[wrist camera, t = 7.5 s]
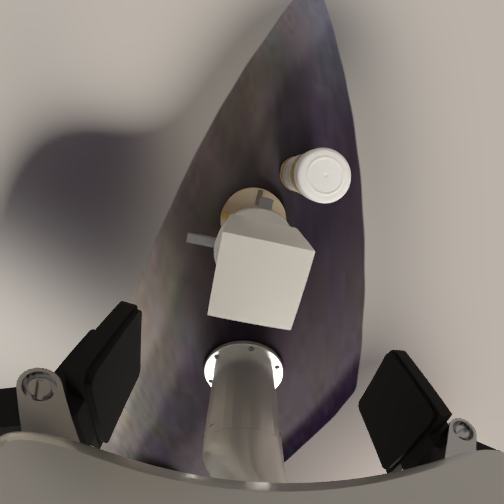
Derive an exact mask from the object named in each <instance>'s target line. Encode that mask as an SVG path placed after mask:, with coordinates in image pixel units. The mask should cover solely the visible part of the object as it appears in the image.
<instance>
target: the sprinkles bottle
mask: <svg viewBox="0 0 504 504" xmlns="http://www.w3.org/2000/svg"><path fill="white" fill-rule="evenodd" d="M280 178H281V181H282V183H283V184H284V186H285V187H287V188H288V189H289V190H291V191H295V192H298V193H300V194H302V195H304V196H305V197H306V198H308V199H310V200H312V201H315V202H318V203H331V202H334V201H337V200H338V199H340V198H341V197H342V196H343V195H344V194H345V193H346V192H347V190H348V188H349V185H350V182H351V171H350V167H349V165H348V163H347V161H346V159H345V158H344V157H343V156H342V155H341V154H340V153H338V152H337V151H335V150H333V149H329V148H317V149H313V150H310V151H308V152H306V153H304V154H301V155H298V156H294V157H290V158H289V159H287V160H286V161H285V162H284V163H283V164H282V166H281V169H280Z"/></svg>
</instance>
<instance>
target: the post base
mask: <svg viewBox="0 0 504 504" xmlns="http://www.w3.org/2000/svg"><path fill="white" fill-rule="evenodd" d="M260 197H264V198H269V199H273V200H274V201H273V205H272V210H273V211H275V212H277V213H278V214H280V215H281V216H282V217H283V218H284V219H285V220H286V214H285V210H284V207H283V205H282V204H281V202H280V201H279V200H278V199H277V197H276V196H274V195H273V194H272V193H270V192H269V191H267V190H265V189H261V188H254V187H252V188H245V189H242V190H240V191H238V192H236V193H235V194H233V195H232V196H231V197H230V198H229V199H228V201H227V202H226V204H225V205H224V207H223V209H222V213H221V227H222V225H223V223H224V222H225V221H226V219H227V218H228V217H229V216H230V214H233V213H234V212H236V211H238V210H240V209H243V208H246V207H252V206H259V201H260Z"/></svg>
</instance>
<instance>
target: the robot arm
mask: <svg viewBox="0 0 504 504" xmlns="http://www.w3.org/2000/svg"><path fill="white" fill-rule="evenodd" d="M141 319H142V312H141V311H140V310H138V309H137V305H134V304H130V303H127V302H124V301H121V302H120V303H119V304H118V305H117V306H116V307H115V308H114V309H113V310H112V312H111V313H110V314H109V315H108V316H107V317H106V318H105V320H104V321H103V322H102V323H101V324H100V325H99V326H98V327H97V329H96V330H94V329H93V330H90V331H89V332H88V333H87V335H86V336H85V337H84V338H83V339H82V340H81V341H80V342H79V344H78V345H77V346H76V347H75V348H74V349H73V350H72V352H71V353H70V354H69V355H68V356H67V358H66V359H65V360H64V361H63V362H62V364H61V365H60V366H59V367H58V368H57V370H56V371H55V372H52V371H50V370H48V369H44V368H33V369H29V370H27V371H25V372H24V373H22V374H21V375H20V377H19V378H18V380H17V386H16V387H14V388H4V389H0V504H504V453H503V452H501V451H499V450H496V449H493V448H491V447H489V446H486V445H484V444H482V443H479V442H477V441H476V431H475V429H474V427H473V426H472V425H471V424H470V423H469V422H468V421H466V420H464V419H461V418H455V419H453V420H452V421H451V422H450V423H449V424H448V423H447V420H448V419H449V418H450V417H451V415H452V413H451V412H450V411H449V409H448V408H447V406H446V405H445V404H444V402H443V401H442V399H441V398H440V397H439V395H438V394H437V392H436V391H435V390H434V388H433V387H432V386H431V384H430V383H429V382H428V380H427V379H426V378H425V376H424V375H423V374H422V372H421V371H420V370H419V368H418V367H417V366H416V365H415V363H414V362H413V361H412V359H411V358H410V357H409V355H408V354H407V353H406V352H405V351H400V350H392V351H390V352H389V353H388V354H386V356H385V357H384V359H383V361H382V363H381V365H380V367H379V368H378V370H377V372H376V374H375V375H374V377H373V379H372V381H371V382H370V384H369V386H368V388H367V389H366V391H365V393H364V394H363V396H362V398H361V399H360V401H359V405H358V406H359V410H360V413H361V415H362V417H363V420H364V422H365V425H366V427H367V429H368V432H369V434H370V437H371V439H372V442H373V444H374V447H375V449H376V452H377V454H378V457H379V459H380V462H381V464H382V467H383V468H384V469H386V472H387V474H382V475H377V476H371V477H365V478H358V479H351V480H341V481H330V482H315V483H287V478H286V473H285V468H284V460H283V451H282V444H281V433H280V425H279V416H278V407H277V399H276V390H275V389H276V388H277V387H278V385H279V384H280V382H281V380H282V377H283V366H282V362H281V360H280V358H279V356H278V355H277V354H276V353H275V352H274V351H273V350H272V349H271V348H269V347H267V346H266V345H263V344H260V343H258V342H253V341H243V340H242V341H233V342H229V343H226V344H223V345H221V346H219V347H217V348H216V349H214V350H213V351H212V352H211V353H210V355H209V356H208V358H207V360H206V363H205V368H204V374H205V378H206V381H207V382H208V384H209V385H210V386H211V393H210V399H209V406H208V413H207V420H206V427H205V434H204V441H203V448H202V457H203V462H204V465H205V467H206V469H207V470H208V472H209V474H210V475H211V476H212V477H213V478H212V477H206V476H200V475H194V474H189V473H184V472H179V471H174V470H170V469H165V468H161V467H157V466H153V465H149V464H146V463H142V462H139V461H135V460H132V459H129V458H126V457H123V456H120V455H116V454H113V453H110V452H107V451H104V450H101V449H100V447H101V445H102V443H103V442H105V443H108V441H109V440H110V437H111V435H112V433H113V430H114V428H115V426H116V424H117V422H118V419H119V417H120V415H121V413H122V411H123V408H124V406H125V404H126V402H127V400H128V398H129V396H130V393H131V391H132V389H133V387H134V385H135V383H136V381H137V379H138V377H139V373H140V351H141ZM90 445H91V446H90ZM92 446H93V447H92ZM95 447H96V448H95ZM402 469H403V470H402Z"/></svg>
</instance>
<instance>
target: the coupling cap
mask: <svg viewBox="0 0 504 504" xmlns="http://www.w3.org/2000/svg"><path fill="white" fill-rule="evenodd" d="M273 201H274V200H273V199H269V198H264V197H260V201H259V206H252V207H246V208H243V209H240V210H238V211H236V212H234V213H233V214H230V216H229V217H228V218H227V219H226V221H225V222H224V223H223V225H222V227H221V229H220V231H219V233H218V235H217V237H212V236H207V235H202V234H197V233H192V232H188V233H187V240H186V242H189V243H193V244H198V245H203V246H208V247H212V248H214V259H215V263H216V269H215V275H214V280H213V286H212V291H211V297H210V302H209V308H208V314H207V315H210V316H214V317H219V318H224V319H229V320H234V321H240V322H245V323H251V324H256V325H262V326H268V327H274V328H280V329H286V330H291V328H292V325H293V322H294V319H295V316H296V313H297V310H298V307H299V304H300V300H301V297H302V294H303V291H304V288H305V285H306V281H307V278H308V275H309V271H310V268H311V265H312V261H313V258H314V254H315V250H314V249H313V248H312V247H311V245H310V244H309V243H308V242H307V240H306V239H305V238H304V237H303V235H302V234H301V233H300V232H299V230H298V229H297V228H293V227H290V226H289V224H288V223H287V222H286V220H285V219H284V218H283V217H282V216H281V215H280V214H278V213H277V212H275V211H273V210H272V205H273Z"/></svg>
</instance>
